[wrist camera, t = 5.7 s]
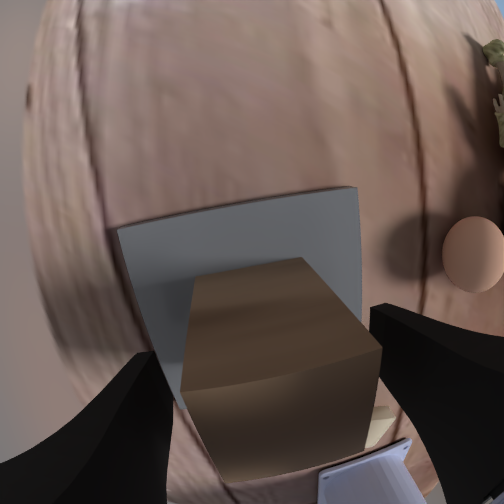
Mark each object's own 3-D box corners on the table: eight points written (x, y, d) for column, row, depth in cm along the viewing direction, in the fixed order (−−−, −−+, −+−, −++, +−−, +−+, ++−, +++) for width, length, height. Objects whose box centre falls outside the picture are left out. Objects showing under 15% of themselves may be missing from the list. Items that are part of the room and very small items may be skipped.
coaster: (353, 365, 14) (358, 372, 13) (181, 401, 13) (180, 409, 12) (350, 186, 11) (357, 187, 10) (121, 226, 10) (116, 229, 10)
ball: (469, 269, 13) (512, 292, 10) (425, 283, 13) (471, 314, 9) (473, 206, 12) (522, 221, 9) (428, 214, 12) (483, 232, 8)
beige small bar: (385, 402, 16) (396, 417, 14) (364, 431, 16) (373, 446, 15) (305, 403, 15) (313, 423, 13) (287, 434, 15) (293, 453, 14)
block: (308, 343, 12) (363, 450, 6) (217, 361, 12) (225, 483, 6) (301, 256, 11) (382, 347, 5) (195, 276, 11) (179, 392, 5)
